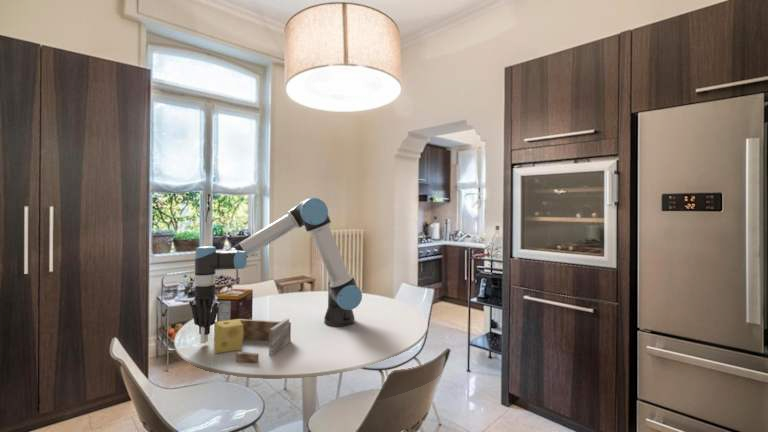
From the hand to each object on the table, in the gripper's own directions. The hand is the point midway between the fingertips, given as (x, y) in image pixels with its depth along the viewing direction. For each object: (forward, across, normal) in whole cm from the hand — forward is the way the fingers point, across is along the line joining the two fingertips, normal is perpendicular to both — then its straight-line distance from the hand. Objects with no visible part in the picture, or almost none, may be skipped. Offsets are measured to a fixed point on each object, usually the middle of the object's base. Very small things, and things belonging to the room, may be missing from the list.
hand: (204, 342), depth 145 cm
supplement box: (+2, +5, -29) cm, 29 cm away
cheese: (+2, -11, 0) cm, 11 cm away
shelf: (+1, -20, 0) cm, 20 cm away
